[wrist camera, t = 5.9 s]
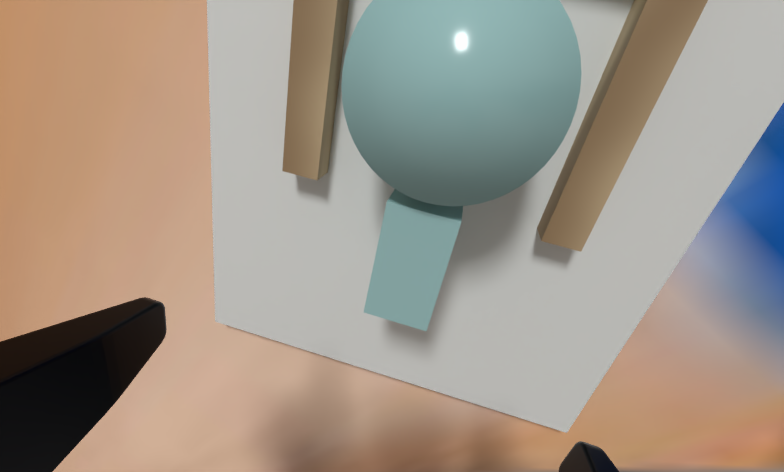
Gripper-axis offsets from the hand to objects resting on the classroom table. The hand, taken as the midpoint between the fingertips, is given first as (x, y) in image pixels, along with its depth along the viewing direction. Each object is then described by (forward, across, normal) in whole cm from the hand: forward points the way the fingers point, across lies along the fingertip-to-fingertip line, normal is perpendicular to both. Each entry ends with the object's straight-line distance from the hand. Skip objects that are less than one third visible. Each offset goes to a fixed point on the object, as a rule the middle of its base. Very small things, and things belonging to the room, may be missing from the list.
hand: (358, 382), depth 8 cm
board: (+10, 0, -1) cm, 10 cm away
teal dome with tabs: (+9, 0, -3) cm, 10 cm away
